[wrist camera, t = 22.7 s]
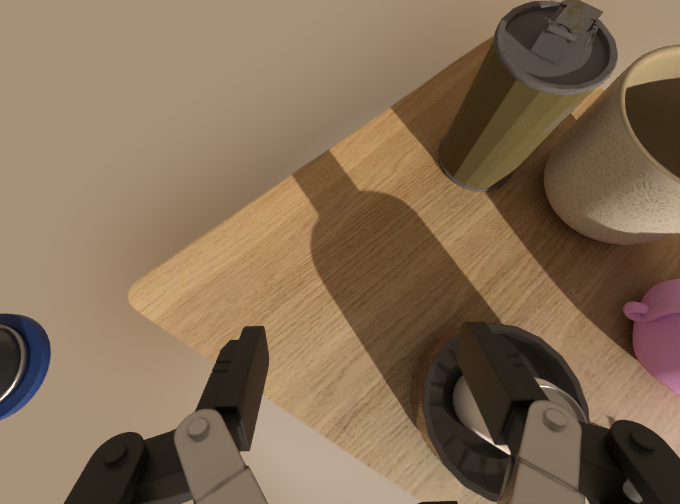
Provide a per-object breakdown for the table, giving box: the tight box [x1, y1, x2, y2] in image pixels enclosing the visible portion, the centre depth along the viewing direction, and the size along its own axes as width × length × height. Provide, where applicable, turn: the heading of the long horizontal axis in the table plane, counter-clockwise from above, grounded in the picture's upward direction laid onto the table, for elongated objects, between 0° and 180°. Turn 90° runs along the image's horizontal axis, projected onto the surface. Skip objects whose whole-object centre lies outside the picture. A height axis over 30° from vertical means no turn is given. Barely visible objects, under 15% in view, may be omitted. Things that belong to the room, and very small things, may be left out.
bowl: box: [411, 323, 589, 502], centre depth 32 cm, size 15×15×6 cm
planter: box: [544, 45, 680, 245], centre depth 35 cm, size 17×17×15 cm
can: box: [453, 375, 587, 455], centre depth 29 cm, size 6×6×12 cm
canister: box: [439, 0, 618, 191], centre depth 35 cm, size 11×10×20 cm
